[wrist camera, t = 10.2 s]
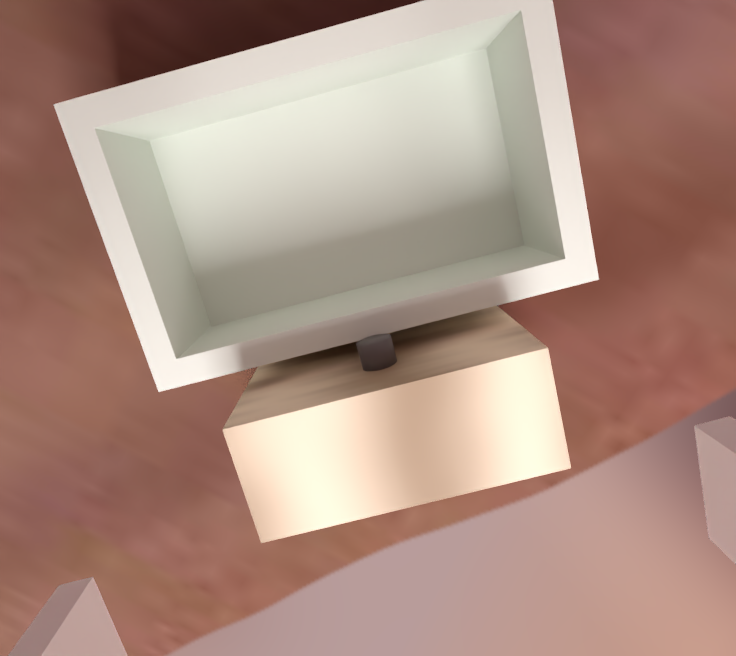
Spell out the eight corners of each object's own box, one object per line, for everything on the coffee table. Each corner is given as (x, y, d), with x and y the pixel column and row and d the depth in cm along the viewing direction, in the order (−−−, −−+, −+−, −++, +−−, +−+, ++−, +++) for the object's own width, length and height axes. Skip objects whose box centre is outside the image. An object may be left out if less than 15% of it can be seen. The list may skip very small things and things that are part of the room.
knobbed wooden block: (292, 428, 27) (261, 542, 18) (262, 330, 26) (213, 402, 17) (500, 376, 27) (570, 468, 18) (478, 274, 25) (542, 318, 17)
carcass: (245, 472, 28) (215, 546, 22) (127, 125, 24) (53, 104, 18) (568, 391, 27) (626, 447, 21) (499, 21, 23) (546, -35, 18)
